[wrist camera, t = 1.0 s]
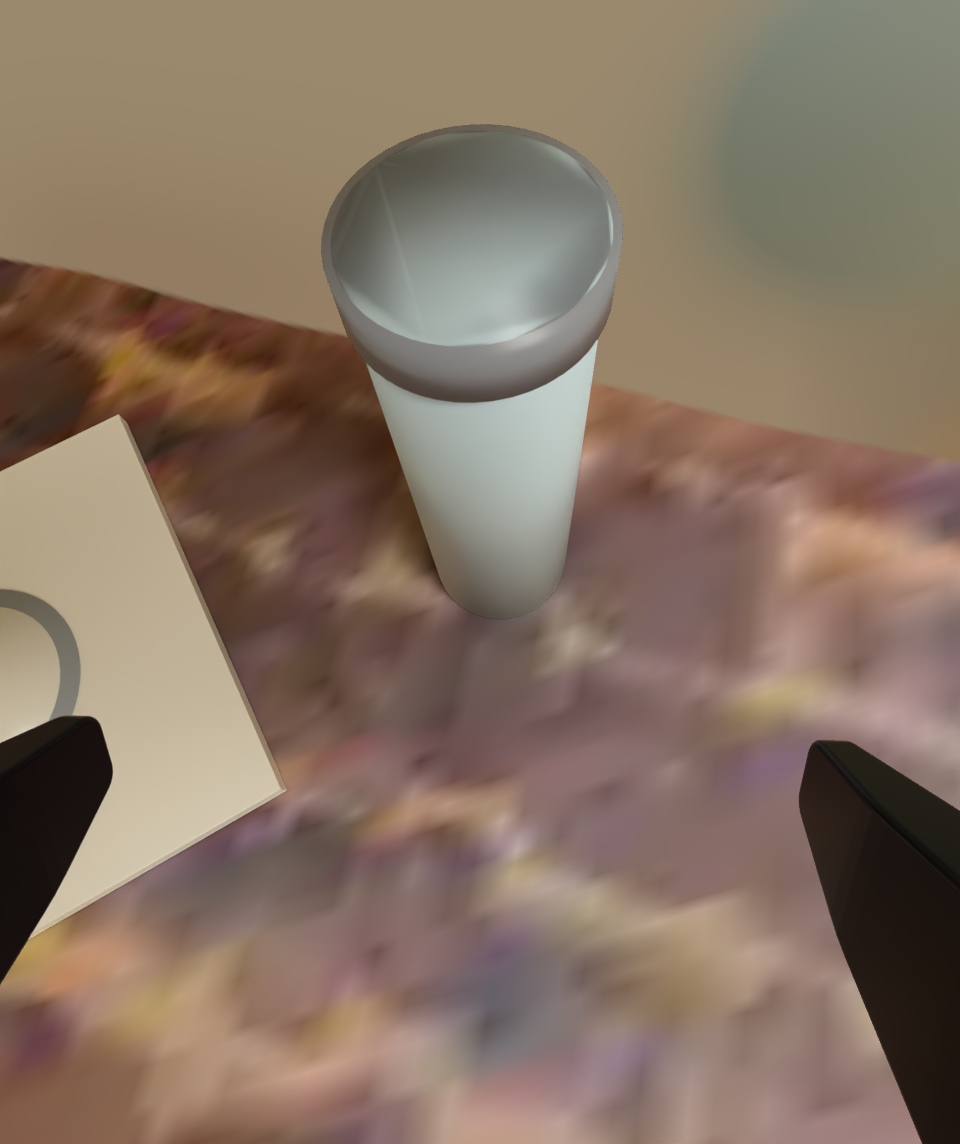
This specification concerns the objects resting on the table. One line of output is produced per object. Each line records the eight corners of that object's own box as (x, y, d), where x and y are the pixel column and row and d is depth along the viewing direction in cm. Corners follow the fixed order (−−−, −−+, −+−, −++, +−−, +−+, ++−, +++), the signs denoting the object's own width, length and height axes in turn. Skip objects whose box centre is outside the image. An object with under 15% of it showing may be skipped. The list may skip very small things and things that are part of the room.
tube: (527, 648, 23) (529, 403, 10) (407, 582, 24) (261, 282, 11) (593, 533, 24) (674, 179, 11) (476, 476, 25) (422, 92, 12)
